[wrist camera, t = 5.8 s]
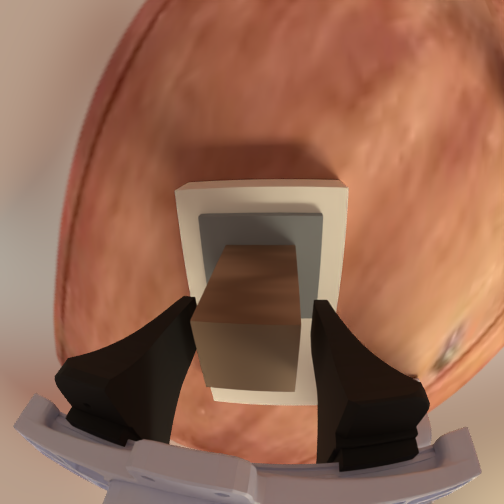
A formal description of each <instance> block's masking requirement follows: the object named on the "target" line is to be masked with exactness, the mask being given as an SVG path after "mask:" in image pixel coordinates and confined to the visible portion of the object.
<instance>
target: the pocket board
mask: <svg viewBox="0 0 504 504" xmlns="http://www.w3.org/2000/svg"><path fill="white" fill-rule="evenodd" d="M348 191H349V188H348V187H347V186H346V185H345V184H344V183H343V182H342V181H340V180H322V179H250V180H222V181H202V182H188V183H186V184H185V185H183V186H181V187H180V188H178V189H176V190H175V197H176V206H177V214H178V221H179V228H180V235H181V242H182V249H183V255H184V261H185V267H186V273H187V279H188V285H189V290H190V296H191V297H195V298H196V303H197V305H198V303H199V301H200V298H201V296H202V294H203V292H204V290H205V288H206V286H207V283H206V276H205V269H204V261H203V254H202V246H201V237H200V229H199V220H198V216H199V215H200V214H207V213H322V214H323V231H322V248H321V263H320V276H319V287H318V298H317V300H328V301H329V303H330V304H331V306H332V307H333V309H334V310H335V312H336V310H337V303H338V296H339V289H340V281H341V273H342V265H343V256H344V246H345V235H346V223H347V209H348ZM311 323H312V318H304V319H302V318H301V335H300V347H299V357H298V367H297V377H296V386H295V392H269V391H248V390H234V389H223V388H213V387H211V391H212V395H213V398H214V401H221V402H231V403H243V404H259V405H318V401H317V388H316V381H315V375H314V368H313V361H312V355H311V338H310V332H311Z"/></svg>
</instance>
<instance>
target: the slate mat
mask: <svg viewBox="0 0 504 504" xmlns="http://www.w3.org/2000/svg"><path fill="white" fill-rule="evenodd" d="M198 220H199V229H200V237H201V246H202V254H203V261H204V269H205V276H206V283H208V281H209V279H210V277H211V275H212V273H213V271H214V269H215V267H216V264H217V262H218V260H219V258H220V256H221V254H222V252H223V250H224V248H225V246H226V245H295V246H296V257H297V269H298V282H299V296H300V311H301V318H302V319H304V318H312V313H313V303H314V300H317V298H318V287H319V276H320V263H321V248H322V231H323V214H322V213H207V214H200V215H199V216H198Z"/></svg>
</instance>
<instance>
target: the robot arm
mask: <svg viewBox="0 0 504 504" xmlns="http://www.w3.org/2000/svg"><path fill="white" fill-rule="evenodd" d="M196 307H197V303H196V298H195V297H188V296H183V297H182V298H180V299H179V300H178V301H177V302H175V303H174V304H173V305H172V306H170V307H169V308H168V309H167V310H165V311H164V312H163V313H162V314H160V315H159V316H158V317H156V318H155V319H154V320H152V321H151V322H149V323H148V324H147V325H145V326H144V327H142V328H141V329H139V330H138V331H136V332H135V333H133V334H131V335H129V336H128V337H126V338H124V339H122V340H120V341H118V342H116V343H114V344H111V345H109V346H107V347H104V348H102V349H99V350H96V351H93V352H90V353H87V354H83V355H80V356H75V357H71V358H68V359H67V360H66V362H65V363H64V364H63V366H62V367H61V369H60V370H59V371H58V373H57V374H56V375H55V382H56V385H57V387H58V388H59V390H60V391H61V393H62V394H63V395H64V397H65V398H66V399H67V401H68V402H69V403H70V404H71V406H72V408H71V409H70V411H69V413H68V414H67V415H66V414H64V413H62V412H60V411H59V409H58V408H57V407H56V405H55V404H54V403H53V402H51V401H50V400H48V399H46V398H45V397H42V396H41V395H39V394H37V393H35V394H34V396H33V397H32V398H31V400H30V401H29V403H28V404H27V406H26V407H25V409H24V410H23V412H22V413H21V415H20V416H19V418H18V420H17V421H16V423H15V424H14V428H15V429H16V430H17V431H18V432H19V433H20V434H21V435H22V436H23V437H24V438H25V439H26V440H27V441H28V442H29V443H30V444H32V445H33V446H34V447H35V448H36V449H37V450H39V451H40V452H41V453H42V454H43V455H45V456H47V457H48V458H50V459H51V460H53V461H54V462H56V463H58V464H59V465H61V466H63V467H64V468H66V469H68V470H69V471H71V472H73V473H74V474H76V475H78V476H80V477H82V478H83V479H85V480H87V481H89V482H91V483H93V484H95V485H97V486H99V487H101V488H103V489H105V490H107V494H106V496H105V499H104V502H103V504H434V500H437V499H439V498H442V497H444V496H447V495H449V494H451V493H453V492H454V491H456V490H458V489H459V488H461V487H462V486H464V485H465V484H467V483H469V482H470V481H471V480H473V479H475V478H476V477H477V476H479V475H480V474H481V468H480V464H479V461H478V457H477V454H476V451H475V448H474V445H473V441H472V439H471V436H470V433H469V430H468V427H463V428H461V429H458V430H455V431H452V432H449V433H447V434H444V435H442V436H441V437H440V438H438V439H437V440H436V442H435V443H434V444H433V445H430V444H431V425H430V421H429V418H428V415H427V411H428V409H429V406H430V403H429V400H428V397H427V394H426V392H425V390H424V388H423V386H422V384H421V382H420V381H419V378H414V379H413V378H410V377H408V376H406V375H404V374H402V373H401V372H399V371H397V370H396V369H394V368H392V367H391V366H389V365H388V364H386V363H385V362H383V361H382V360H381V359H379V358H378V357H377V356H375V355H374V354H373V353H372V352H370V351H369V350H368V349H367V348H366V347H365V346H364V345H363V344H362V343H361V342H360V341H359V340H358V339H357V338H356V337H355V336H354V335H353V334H352V333H351V331H350V330H349V329H348V328H347V326H346V325H345V324H344V323H343V321H342V320H341V319H340V317H339V316H338V315H337V313H336V312H335V310H334V309H333V307H332V306H331V304H330V303H329V301H328V300H314V303H313V313H312V323H311V332H310V338H311V355H312V361H313V368H314V375H315V381H316V388H317V401H318V438H317V461H316V464H260V463H250V462H249V461H247V460H244V459H242V458H239V457H236V456H231V455H226V454H220V453H213V452H206V451H200V450H194V449H189V448H184V447H179V446H174V445H170V444H169V441H170V436H171V430H172V425H173V419H174V415H175V410H176V406H177V402H178V398H179V394H180V390H181V387H182V384H183V381H184V379H185V376H186V374H187V371H188V369H189V366H190V364H191V361H192V359H193V356H194V354H195V351H196V345H195V340H194V336H193V332H192V327H191V323H190V320H191V318H192V316H193V314H194V311H195V309H196Z"/></svg>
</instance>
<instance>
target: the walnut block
mask: <svg viewBox="0 0 504 504" xmlns="http://www.w3.org/2000/svg"><path fill="white" fill-rule="evenodd" d="M190 323H191V327H192V332H193V336H194V340H195V345H196V349H197V353H198V357H199V361H200V365H201V369H202V373H203V376H204V380H205V384H206V387H213V388H223V389H234V390H248V391H269V392H295V386H296V377H297V367H298V357H299V347H300V335H301V311H300V296H299V282H298V269H297V257H296V246H295V245H226V246H225V248H224V250H223V252H222V254H221V256H220V258H219V260H218V262H217V264H216V267H215V269H214V271H213V273H212V275H211V277H210V279H209V281H208V283H207V286H206V288H205V290H204V292H203V294H202V296H201V298H200V301H199V303H198V305H197V307H196V309H195V311H194V314H193V316H192V318H191V320H190Z"/></svg>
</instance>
